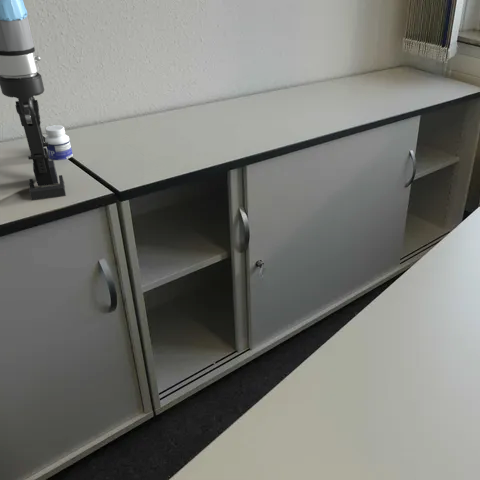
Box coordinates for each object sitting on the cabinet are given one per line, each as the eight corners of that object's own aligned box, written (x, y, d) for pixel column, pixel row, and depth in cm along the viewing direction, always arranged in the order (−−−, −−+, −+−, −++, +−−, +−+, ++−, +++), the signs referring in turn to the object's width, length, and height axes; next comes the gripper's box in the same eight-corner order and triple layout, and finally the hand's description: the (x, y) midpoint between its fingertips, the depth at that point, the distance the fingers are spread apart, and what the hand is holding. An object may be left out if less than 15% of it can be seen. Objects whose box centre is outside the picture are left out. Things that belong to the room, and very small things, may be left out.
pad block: (37, 179, 121) (32, 162, 119) (57, 176, 123) (53, 160, 121) (37, 186, 118) (33, 169, 116) (58, 183, 120) (54, 166, 118)
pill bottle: (47, 161, 134) (38, 126, 129) (69, 156, 137) (62, 122, 133) (55, 168, 131) (46, 133, 126) (77, 163, 134) (70, 129, 130)
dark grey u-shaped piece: (31, 187, 122) (29, 178, 121) (64, 182, 125) (62, 175, 124) (31, 200, 117) (29, 192, 116) (65, 195, 119) (63, 187, 118)
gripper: (41, 84, 103) (67, 193, 115) (39, 62, 116) (62, 163, 128) (-5, 86, 100) (27, 199, 112) (-2, 64, 113) (26, 167, 125)
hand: (46, 180), depth 120 cm, fingers closed on pad block, 4 cm apart
